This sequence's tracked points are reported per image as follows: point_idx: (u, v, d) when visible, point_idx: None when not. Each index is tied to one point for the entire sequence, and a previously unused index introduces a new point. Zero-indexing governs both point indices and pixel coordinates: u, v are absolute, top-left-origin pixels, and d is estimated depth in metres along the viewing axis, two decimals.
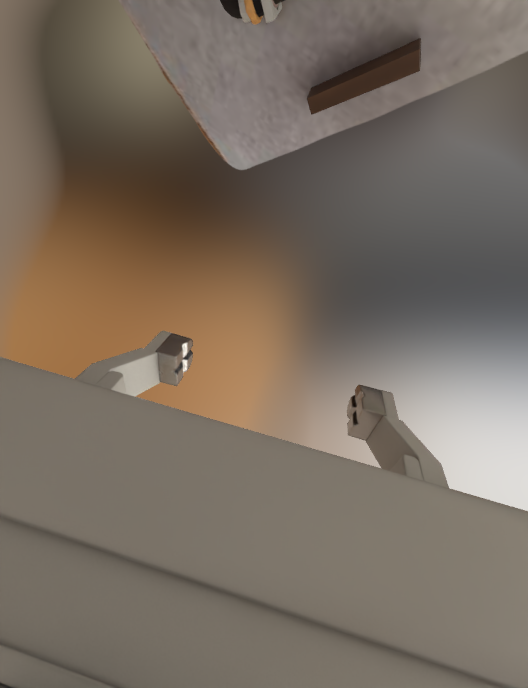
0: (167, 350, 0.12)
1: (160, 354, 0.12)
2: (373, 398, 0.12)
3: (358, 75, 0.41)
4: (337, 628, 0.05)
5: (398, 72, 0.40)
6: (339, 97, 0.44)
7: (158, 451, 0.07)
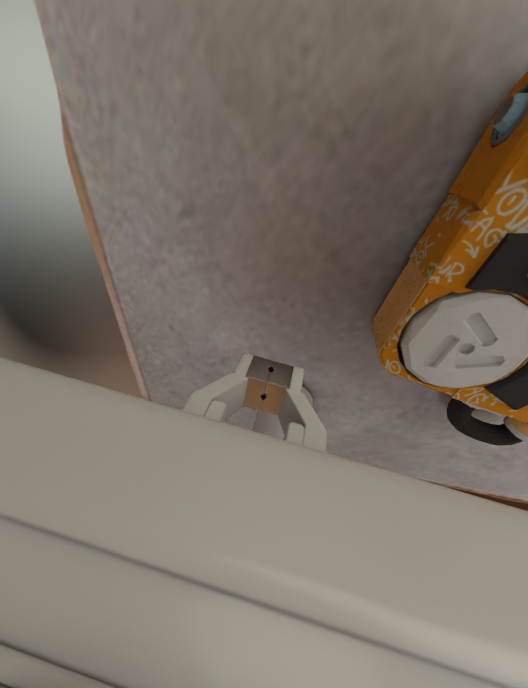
0: (256, 375, 0.12)
1: (250, 379, 0.12)
2: (282, 373, 0.12)
3: None
4: (336, 628, 0.05)
5: None
6: None
7: (158, 451, 0.07)
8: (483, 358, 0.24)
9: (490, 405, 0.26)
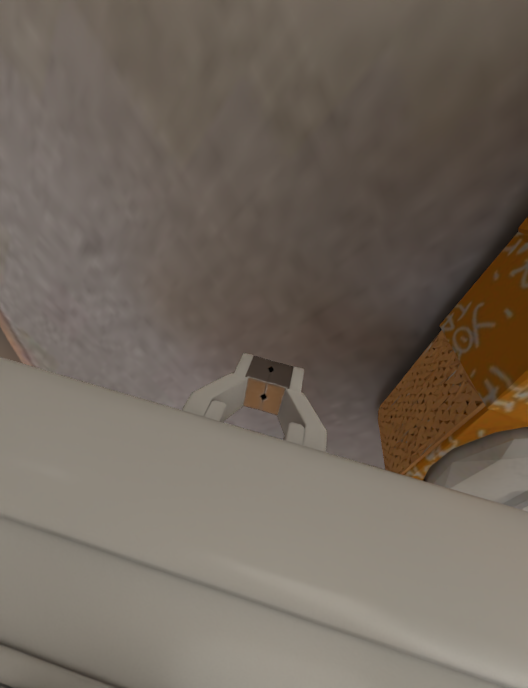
0: (256, 375, 0.12)
1: (250, 379, 0.12)
2: (282, 373, 0.12)
3: None
4: (337, 628, 0.05)
5: None
6: None
7: (158, 451, 0.07)
8: None
9: None
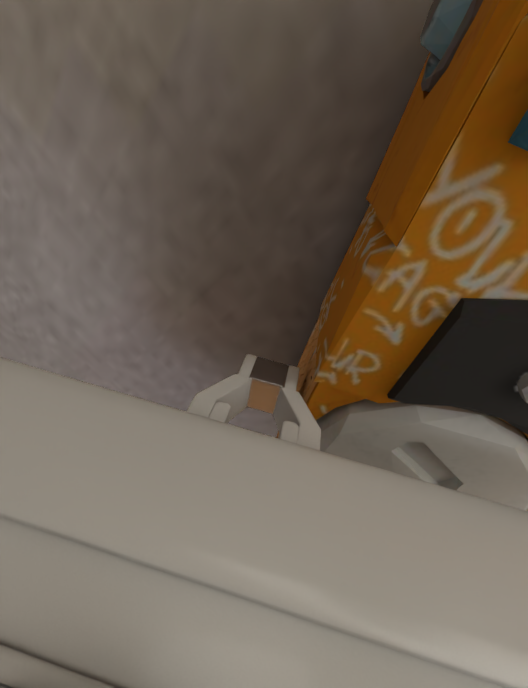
0: (260, 376, 0.12)
1: (254, 380, 0.12)
2: (277, 372, 0.12)
3: None
4: (337, 629, 0.05)
5: None
6: None
7: (158, 451, 0.07)
8: None
9: None
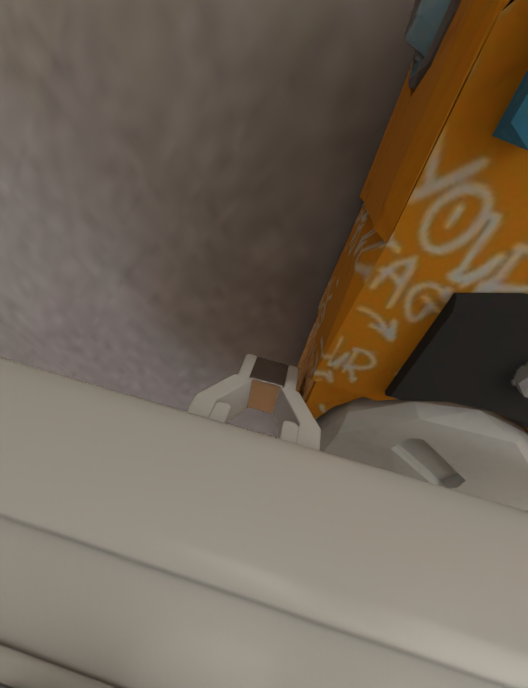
0: (260, 376, 0.12)
1: (254, 380, 0.12)
2: (277, 372, 0.12)
3: None
4: (337, 629, 0.05)
5: None
6: None
7: (158, 451, 0.07)
8: None
9: None
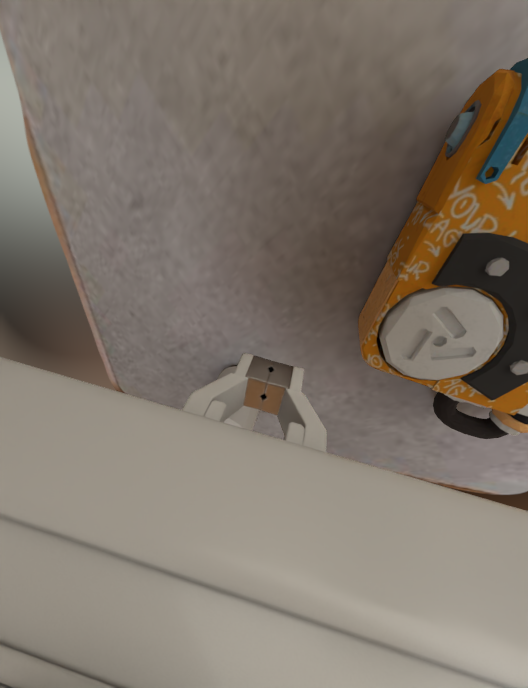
0: (256, 375, 0.12)
1: (250, 379, 0.12)
2: (282, 373, 0.12)
3: None
4: (337, 628, 0.05)
5: None
6: None
7: (158, 451, 0.07)
8: (456, 350, 0.25)
9: (469, 396, 0.28)
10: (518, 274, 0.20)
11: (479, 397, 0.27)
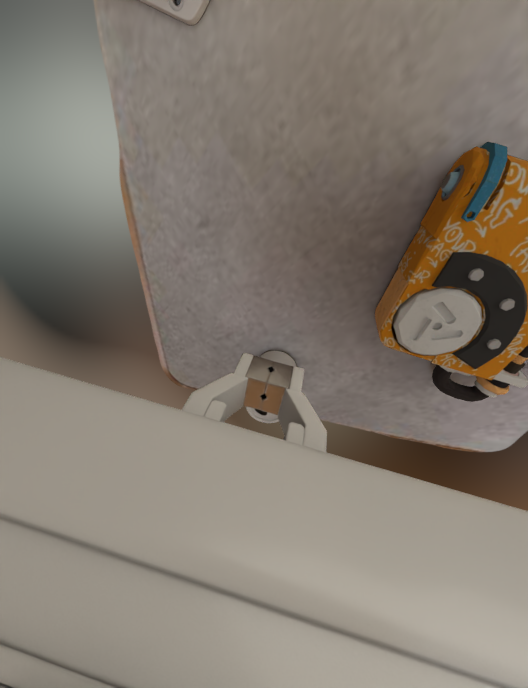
0: (256, 375, 0.12)
1: (250, 379, 0.12)
2: (282, 373, 0.12)
3: None
4: (337, 628, 0.05)
5: None
6: None
7: (158, 451, 0.07)
8: (449, 332, 0.35)
9: (458, 367, 0.38)
10: (490, 279, 0.30)
11: (466, 367, 0.37)
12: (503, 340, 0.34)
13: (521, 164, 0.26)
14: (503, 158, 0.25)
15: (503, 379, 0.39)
